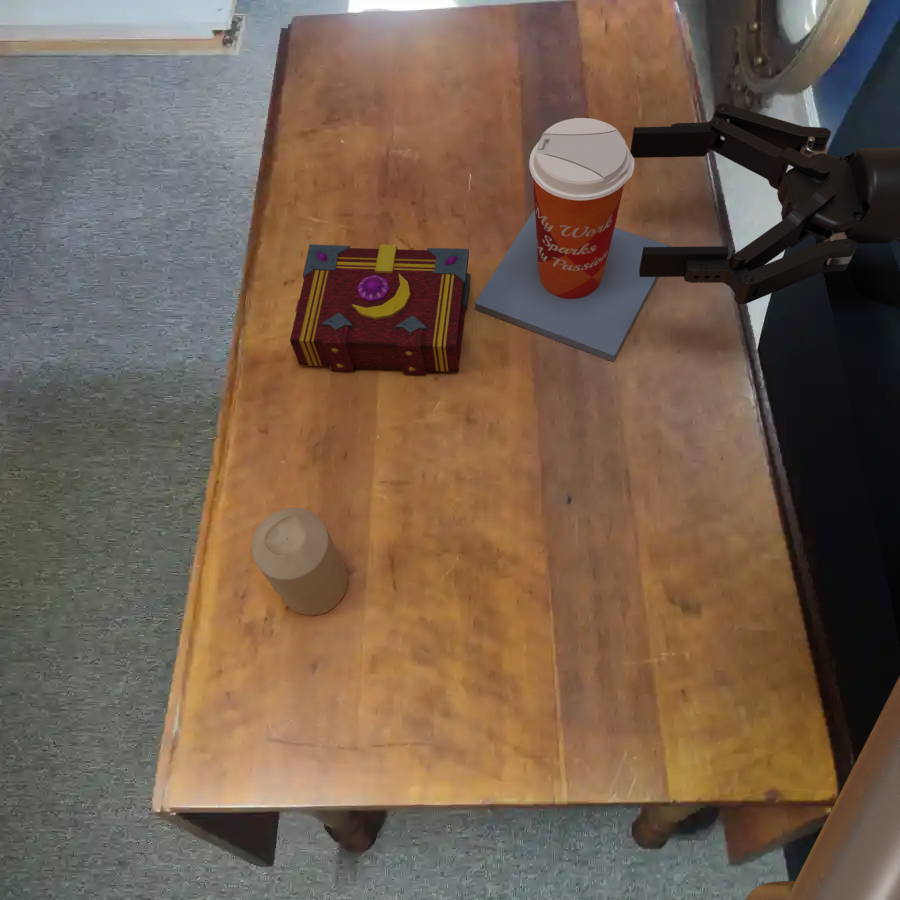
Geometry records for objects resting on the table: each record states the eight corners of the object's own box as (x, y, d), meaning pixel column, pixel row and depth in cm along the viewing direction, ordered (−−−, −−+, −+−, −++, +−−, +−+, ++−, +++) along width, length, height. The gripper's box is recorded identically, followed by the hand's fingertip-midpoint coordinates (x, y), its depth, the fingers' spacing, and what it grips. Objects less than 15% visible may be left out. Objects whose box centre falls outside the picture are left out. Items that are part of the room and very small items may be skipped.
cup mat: (613, 362, 76) (614, 355, 75) (475, 309, 80) (474, 302, 79) (670, 253, 81) (672, 246, 81) (538, 209, 85) (538, 202, 84)
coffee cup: (517, 300, 79) (518, 177, 66) (538, 234, 82) (542, 106, 69) (606, 316, 77) (625, 194, 64) (623, 249, 81) (645, 121, 68)
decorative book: (460, 377, 76) (456, 345, 72) (286, 370, 78) (272, 337, 74) (471, 279, 82) (468, 243, 77) (308, 274, 83) (296, 239, 79)
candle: (305, 540, 70) (275, 486, 61) (361, 570, 68) (339, 519, 59) (266, 596, 67) (229, 549, 59) (323, 629, 66) (294, 585, 57)
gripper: (913, 347, 67) (639, 347, 68) (855, 127, 78) (624, 132, 80) (956, 285, 60) (652, 287, 62) (886, 55, 72) (633, 62, 74)
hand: (636, 199), depth 71 cm, fingers open, 13 cm apart
